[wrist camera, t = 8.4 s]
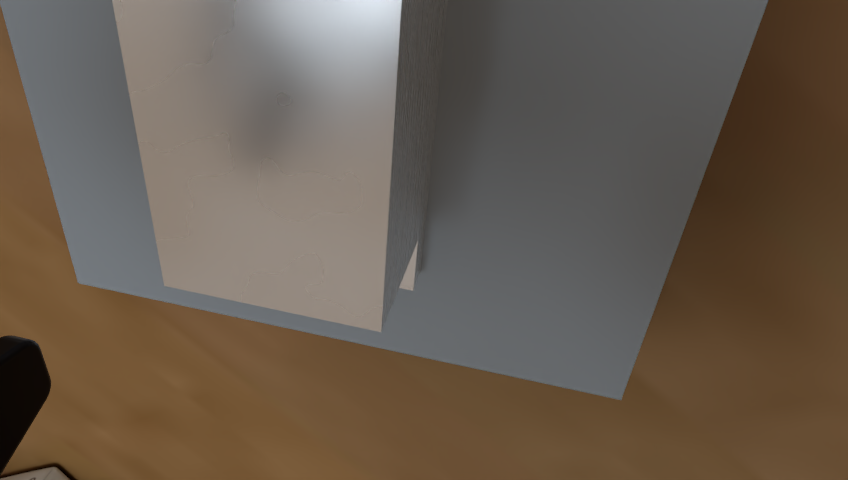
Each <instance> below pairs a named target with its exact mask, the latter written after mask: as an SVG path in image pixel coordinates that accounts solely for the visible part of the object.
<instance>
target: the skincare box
mask: <svg viewBox="0 0 848 480" xmlns="http://www.w3.org/2000/svg"><path fill="white" fill-rule="evenodd" d="M0 480H70V479H69V478H68V477H67V476H65V475H64V474H63V473H62V472H61V471H60V470H59V469H58V468H56V467H49V468H44V469H40V470H35V471H31V472H26V473H21V474H17V475H13V476H9V477H5V478H1V479H0Z"/></svg>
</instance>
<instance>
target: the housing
mask: <svg viewBox="0 0 848 480" xmlns="http://www.w3.org/2000/svg"><path fill="white" fill-rule="evenodd" d="M447 1H448V0H112V3H113V8H114V14H115V19H116V25H117V30H118V35H119V41H120V46H121V52H122V57H123V63H124V68H125V74H126V79H127V85H128V90H129V96H130V101H131V107H132V112H133V118H134V123H135V129H136V134H137V140H138V145H139V151H140V156H141V162H142V167H143V172H144V178H145V183H146V189H147V194H148V200H149V205H150V211H151V216H152V222H153V227H154V233H155V238H156V244H157V249H158V255H159V260H160V266H161V271H162V277H163V282H164V286H167V287H172V288H176V289H181V290H186V291H190V292H195V293H200V294H205V295H209V296H214V297H219V298H223V299H228V300H233V301H237V302H242V303H247V304H251V305H256V306H261V307H265V308H270V309H275V310H279V311H284V312H289V313H293V314H298V315H303V316H307V317H312V318H317V319H322V320H326V321H331V322H336V323H340V324H345V325H350V326H354V327H359V328H364V329H368V330H373V331H378V332H382V329H383V327H384V324H385V322H386V319H387V317H388V314H389V312H390V309H391V307H392V304H393V302H394V299H395V297H396V294H397V292H398V289H399V288H402V289H407V290H412V291H413V290H414V287H415V285H416V282H417V279H418V277H419V274H420V270H421V260H422V250H423V240H424V230H425V220H426V210H427V200H428V190H429V180H430V170H431V161H432V151H433V141H434V131H435V121H436V111H437V101H438V91H439V81H440V71H441V61H442V51H443V41H444V31H445V21H446V11H447Z"/></svg>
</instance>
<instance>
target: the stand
mask: <svg viewBox="0 0 848 480" xmlns="http://www.w3.org/2000/svg"><path fill="white" fill-rule="evenodd" d="M767 3H768V0H448V1H447V11H446V21H445V31H444V41H443V51H442V61H441V71H440V81H439V91H438V101H437V111H436V121H435V131H434V141H433V151H432V161H431V170H430V180H429V190H428V200H427V210H426V220H425V230H424V240H423V250H422V260H421V270H420V274H419V277H418V279H417V282H416V285H415V287H414V290H413V291H412V290H407V289H402V288H399V289H398V292H397V294H396V297H395V299H394V302H393V304H392V307H391V309H390V312H389V314H388V317H387V319H386V322H385V324H384V327H383V329H382V332H378V331H373V330H368V329H364V328H359V327H354V326H350V325H345V324H340V323H336V322H331V321H326V320H322V319H317V318H312V317H307V316H303V315H298V314H293V313H289V312H284V311H279V310H275V309H270V308H265V307H261V306H256V305H251V304H247V303H242V302H237V301H233V300H228V299H223V298H219V297H214V296H209V295H205V294H200V293H195V292H190V291H186V290H181V289H176V288H172V287H167V286H164V282H163V277H162V271H161V266H160V260H159V255H158V249H157V244H156V238H155V233H154V227H153V222H152V216H151V211H150V205H149V200H148V194H147V189H146V183H145V178H144V172H143V167H142V162H141V156H140V151H139V145H138V140H137V134H136V129H135V123H134V118H133V112H132V107H131V101H130V96H129V90H128V85H127V79H126V74H125V68H124V63H123V57H122V52H121V46H120V41H119V35H118V30H117V25H116V19H115V14H114V8H113V3H112V0H0V5H1V8H2V12H3V15H4V19H5V22H6V26H7V30H8V33H9V37H10V40H11V44H12V48H13V51H14V55H15V58H16V62H17V65H18V69H19V73H20V76H21V80H22V83H23V87H24V91H25V94H26V98H27V101H28V105H29V108H30V112H31V116H32V119H33V123H34V126H35V130H36V133H37V137H38V141H39V144H40V148H41V151H42V155H43V159H44V162H45V166H46V169H47V173H48V176H49V180H50V184H51V187H52V191H53V194H54V198H55V201H56V205H57V209H58V212H59V216H60V219H61V223H62V227H63V230H64V234H65V237H66V241H67V244H68V248H69V252H70V255H71V259H72V262H73V266H74V269H75V273H76V277H77V280H78V283H80V284H85V285H89V286H94V287H98V288H103V289H108V290H112V291H117V292H122V293H126V294H131V295H136V296H140V297H145V298H150V299H154V300H159V301H163V302H168V303H173V304H177V305H182V306H187V307H191V308H196V309H201V310H205V311H210V312H215V313H219V314H224V315H228V316H233V317H238V318H242V319H247V320H252V321H256V322H261V323H266V324H270V325H275V326H280V327H284V328H289V329H294V330H298V331H303V332H307V333H312V334H317V335H321V336H326V337H331V338H335V339H340V340H345V341H349V342H354V343H359V344H363V345H368V346H372V347H377V348H382V349H386V350H391V351H396V352H400V353H405V354H410V355H414V356H419V357H424V358H428V359H433V360H437V361H442V362H447V363H451V364H456V365H461V366H465V367H470V368H475V369H479V370H484V371H489V372H493V373H498V374H503V375H507V376H512V377H516V378H521V379H526V380H530V381H535V382H540V383H544V384H549V385H554V386H558V387H563V388H568V389H572V390H577V391H581V392H586V393H591V394H595V395H600V396H605V397H609V398H614V399H619V400H621V399H622V396H623V393H624V390H625V388H626V385H627V382H628V380H629V377H630V374H631V371H632V369H633V366H634V363H635V361H636V358H637V355H638V353H639V350H640V347H641V344H642V342H643V339H644V336H645V334H646V331H647V328H648V325H649V323H650V320H651V317H652V315H653V312H654V309H655V306H656V304H657V301H658V298H659V296H660V293H661V290H662V287H663V285H664V282H665V279H666V277H667V274H668V271H669V268H670V266H671V263H672V260H673V258H674V255H675V252H676V249H677V247H678V244H679V241H680V239H681V236H682V233H683V230H684V228H685V225H686V222H687V220H688V217H689V214H690V212H691V209H692V206H693V203H694V201H695V198H696V195H697V193H698V190H699V187H700V184H701V182H702V179H703V176H704V174H705V171H706V168H707V165H708V163H709V160H710V157H711V155H712V152H713V149H714V146H715V144H716V141H717V138H718V136H719V133H720V130H721V127H722V125H723V122H724V119H725V117H726V114H727V111H728V108H729V106H730V103H731V100H732V98H733V95H734V92H735V89H736V87H737V84H738V81H739V79H740V76H741V73H742V71H743V68H744V65H745V62H746V60H747V57H748V54H749V52H750V49H751V46H752V43H753V41H754V38H755V35H756V33H757V30H758V27H759V24H760V22H761V19H762V16H763V14H764V11H765V8H766V5H767Z"/></svg>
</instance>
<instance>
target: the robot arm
mask: <svg viewBox="0 0 848 480" xmlns="http://www.w3.org/2000/svg"><path fill="white" fill-rule="evenodd" d="M50 388H51V379H50V376H49V373H48V370H47V367H46V364H45V361H44V358H43V355H42V352H41V349H40V347H39V345H38V344H37V343H36V342H35V341H33V340H30V339H25V338H21V337H17V336H3V337H1V338H0V475H1V473H2V472H3V470H4V468H5V467H6V465H7V463H8V462H9V460H10V458H11V457H12V455H13V453H14V452H15V450H16V448H17V447H18V445H19V444H20V442H21V440H22V439H23V437H24V435H25V434H26V432H27V430H28V429H29V427H30V425H31V424H32V422H33V420H34V419H35V417H36V415H37V414H38V412H39V411H40V409H41V407H42V406H43V404H44V402H45V401H46V399H47V397H48V395H49V392H50Z"/></svg>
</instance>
